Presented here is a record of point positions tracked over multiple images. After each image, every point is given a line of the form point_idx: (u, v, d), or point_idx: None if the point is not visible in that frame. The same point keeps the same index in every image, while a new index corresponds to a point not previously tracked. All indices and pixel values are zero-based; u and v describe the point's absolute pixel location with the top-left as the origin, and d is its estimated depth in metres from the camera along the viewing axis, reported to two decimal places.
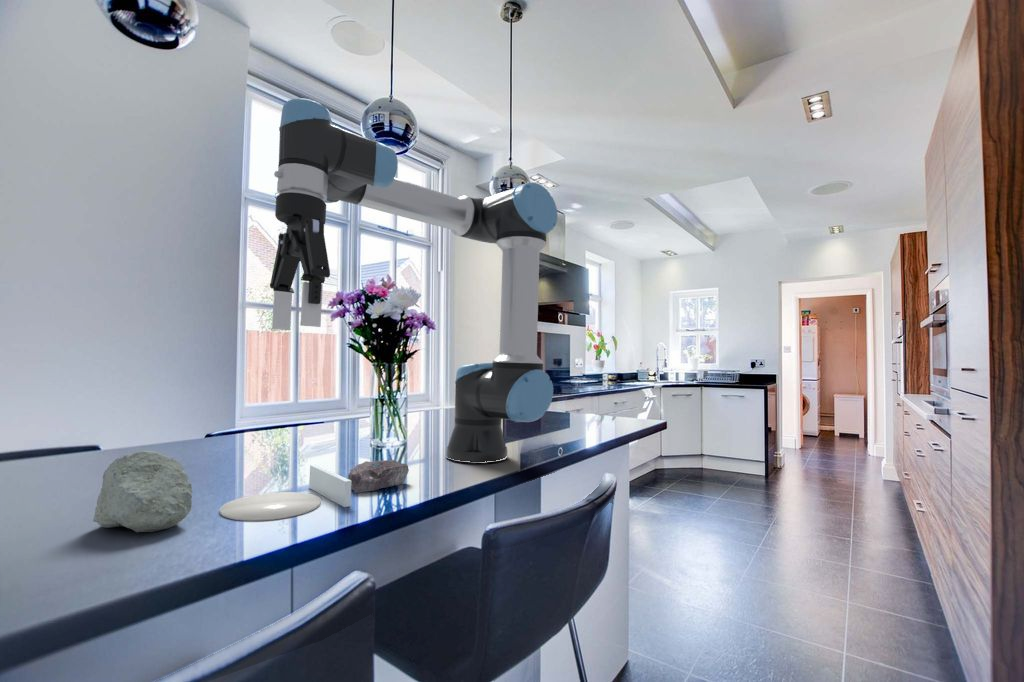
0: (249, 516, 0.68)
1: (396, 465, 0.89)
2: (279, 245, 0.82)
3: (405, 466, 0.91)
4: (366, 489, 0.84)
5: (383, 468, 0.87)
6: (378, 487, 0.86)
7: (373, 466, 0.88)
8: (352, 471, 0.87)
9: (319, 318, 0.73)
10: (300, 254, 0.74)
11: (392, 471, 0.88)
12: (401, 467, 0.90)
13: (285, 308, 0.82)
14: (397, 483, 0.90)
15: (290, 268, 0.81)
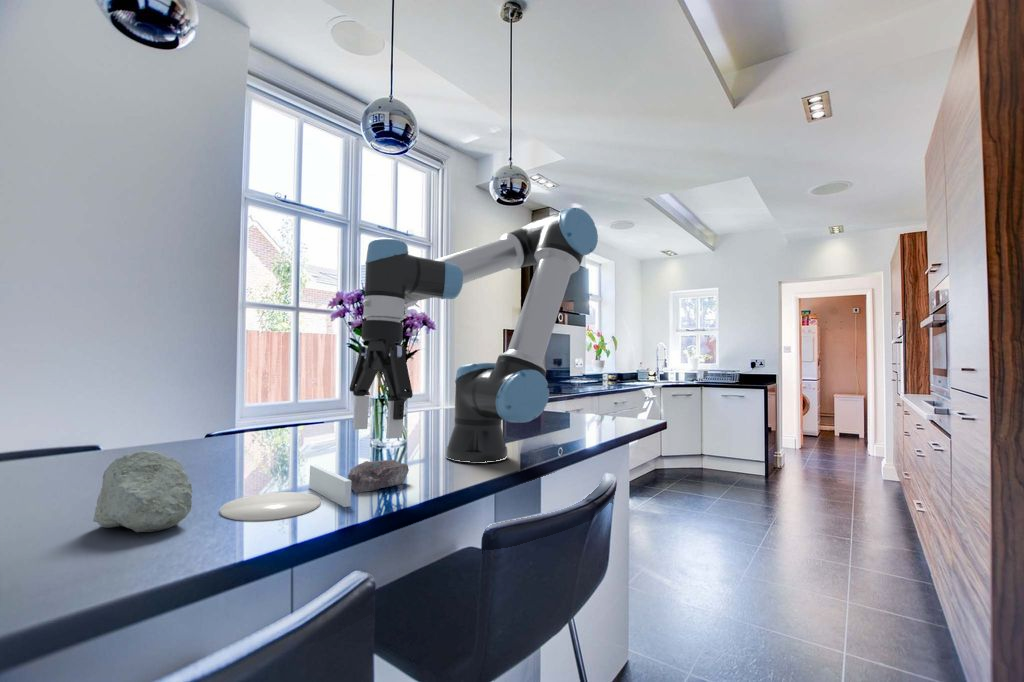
0: (249, 516, 0.68)
1: (396, 465, 0.89)
2: (360, 356, 0.95)
3: (405, 466, 0.91)
4: (366, 489, 0.84)
5: (383, 468, 0.87)
6: (378, 487, 0.86)
7: (373, 466, 0.88)
8: (352, 471, 0.88)
9: (401, 430, 0.86)
10: (385, 374, 0.87)
11: (391, 471, 0.88)
12: (401, 467, 0.90)
13: (363, 410, 0.95)
14: (397, 483, 0.90)
15: (370, 377, 0.94)
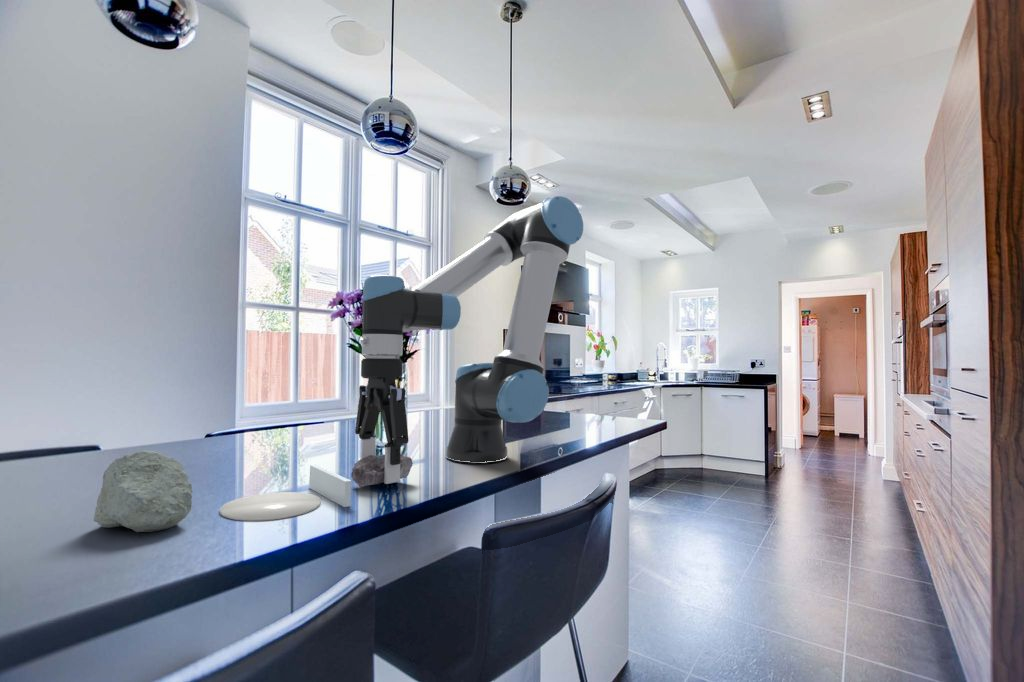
0: (249, 516, 0.68)
1: (400, 458, 0.90)
2: (361, 396, 0.94)
3: (409, 459, 0.92)
4: (370, 482, 0.85)
5: None
6: (382, 480, 0.86)
7: (377, 460, 0.89)
8: (356, 465, 0.88)
9: (398, 474, 0.87)
10: (383, 416, 0.87)
11: None
12: (405, 460, 0.90)
13: (370, 453, 0.94)
14: (401, 476, 0.90)
15: (373, 417, 0.93)
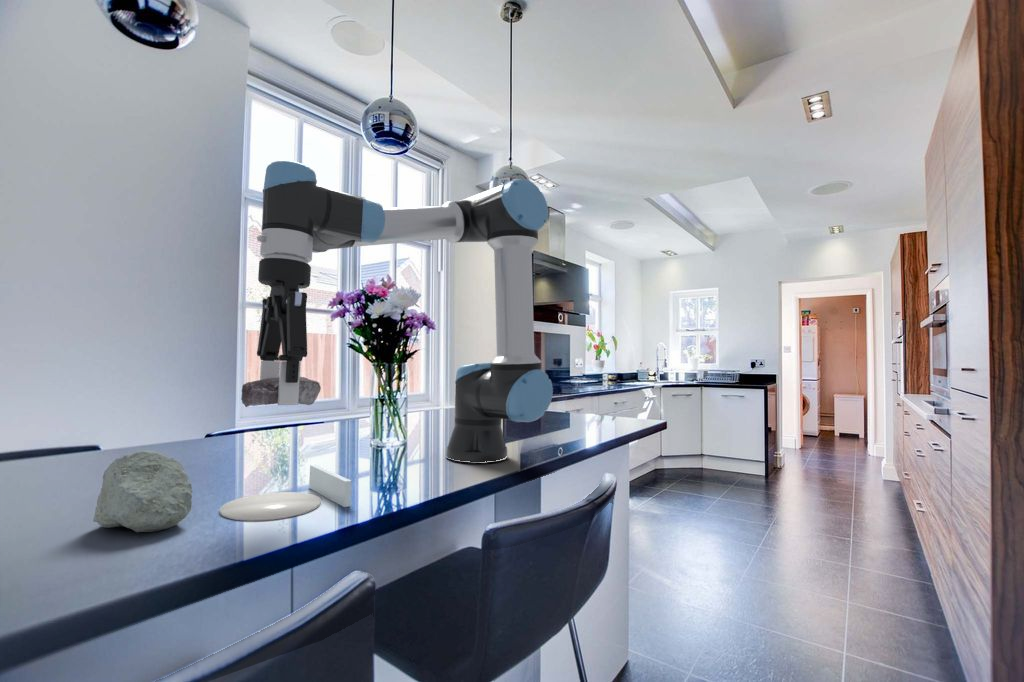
0: (249, 516, 0.68)
1: (302, 379, 0.75)
2: (263, 310, 0.80)
3: (315, 383, 0.77)
4: (258, 402, 0.70)
5: None
6: (275, 401, 0.71)
7: (273, 379, 0.74)
8: None
9: (297, 396, 0.73)
10: (280, 326, 0.73)
11: None
12: (308, 383, 0.76)
13: None
14: (303, 401, 0.76)
15: (276, 333, 0.79)
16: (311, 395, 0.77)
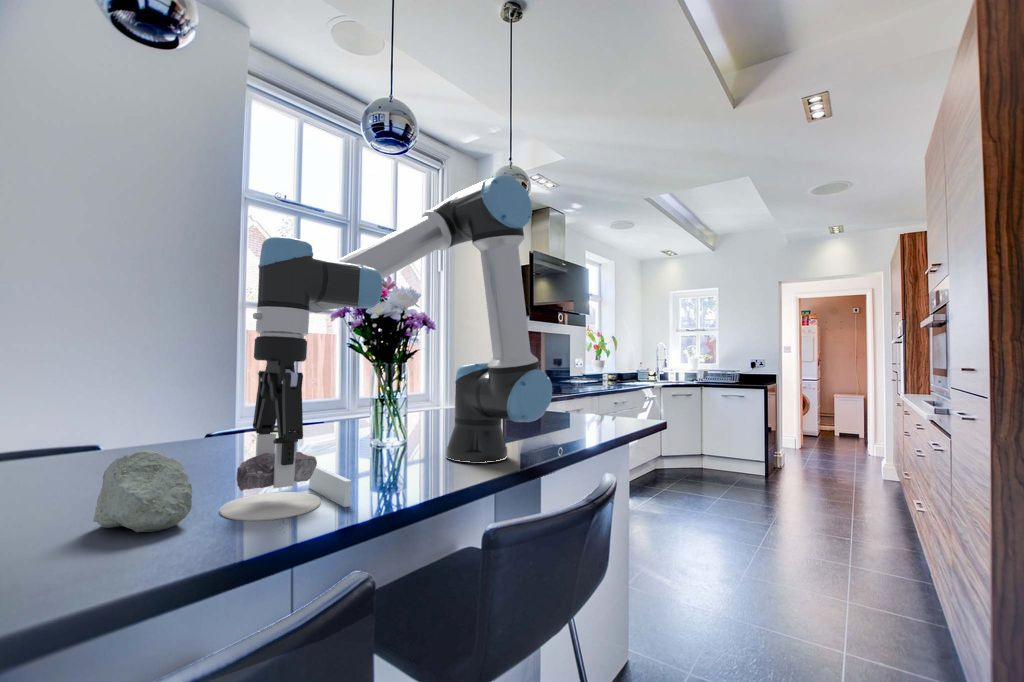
0: (249, 516, 0.68)
1: (297, 457, 0.74)
2: (259, 383, 0.79)
3: (311, 459, 0.76)
4: (253, 486, 0.70)
5: None
6: (270, 483, 0.71)
7: (268, 459, 0.73)
8: (242, 464, 0.73)
9: (292, 477, 0.72)
10: (276, 406, 0.72)
11: None
12: (304, 460, 0.75)
13: (268, 452, 0.79)
14: (299, 479, 0.75)
15: (272, 407, 0.78)
16: (307, 472, 0.76)
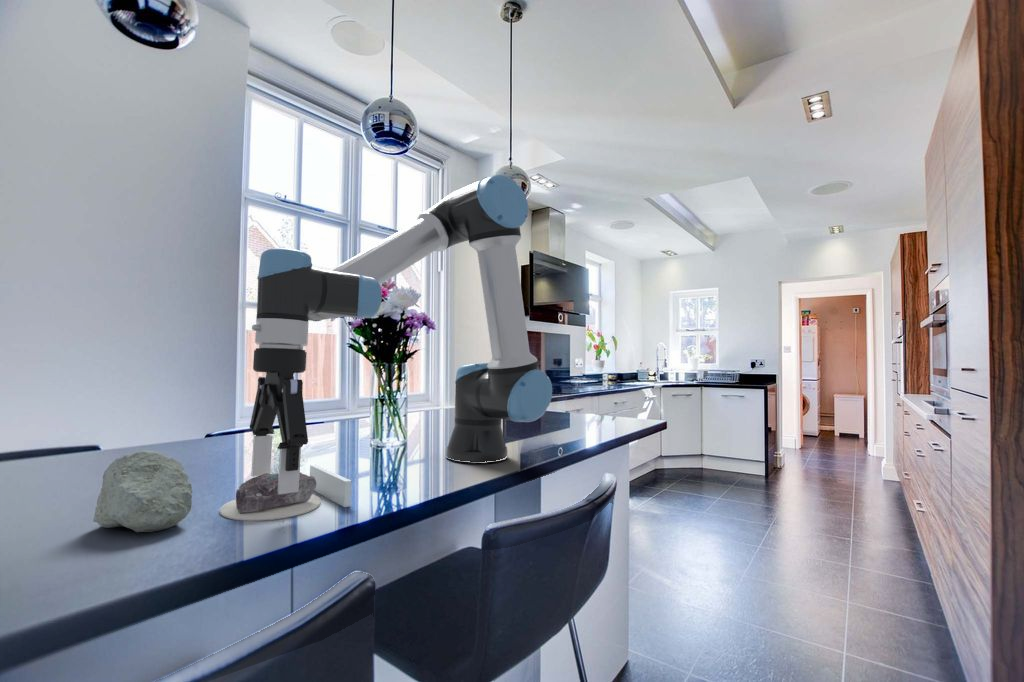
0: (249, 516, 0.68)
1: None
2: (258, 389, 0.80)
3: (310, 480, 0.76)
4: (252, 508, 0.69)
5: None
6: (269, 506, 0.71)
7: (268, 480, 0.73)
8: (242, 486, 0.73)
9: (297, 483, 0.71)
10: (278, 414, 0.72)
11: None
12: (304, 481, 0.75)
13: (265, 453, 0.80)
14: (299, 500, 0.75)
15: (270, 414, 0.79)
16: (306, 492, 0.76)
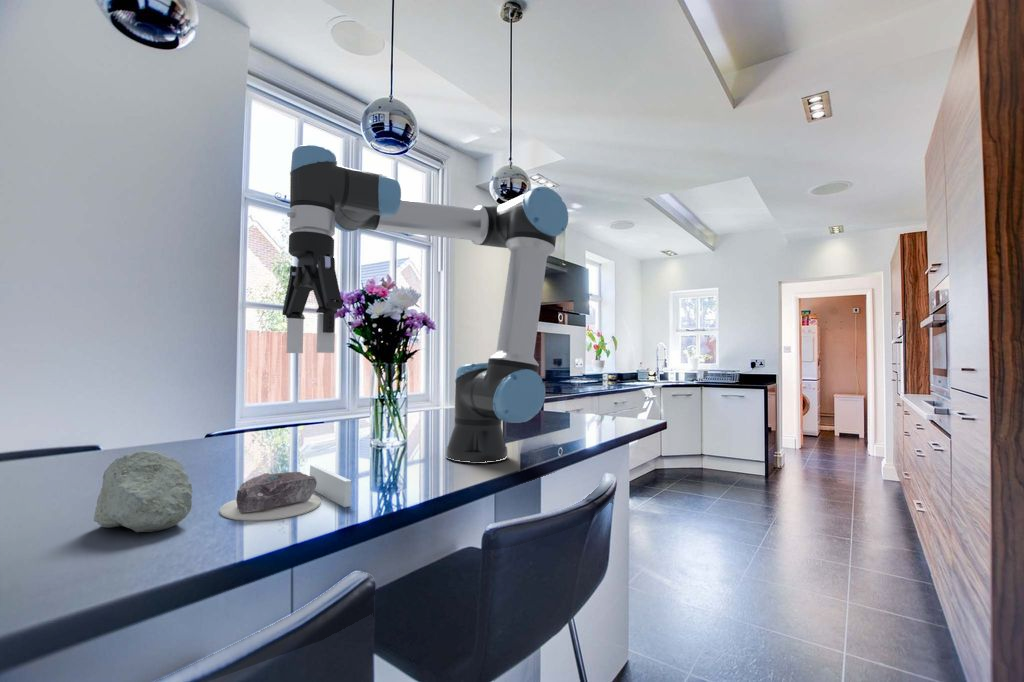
0: (249, 516, 0.68)
1: (297, 478, 0.75)
2: (291, 276, 0.90)
3: (311, 479, 0.76)
4: (254, 508, 0.70)
5: (279, 482, 0.72)
6: (270, 506, 0.71)
7: (268, 480, 0.73)
8: (242, 486, 0.73)
9: (333, 345, 0.81)
10: (313, 287, 0.82)
11: (290, 486, 0.73)
12: (304, 481, 0.75)
13: (298, 333, 0.91)
14: (299, 500, 0.75)
15: (302, 297, 0.89)
16: (307, 492, 0.76)
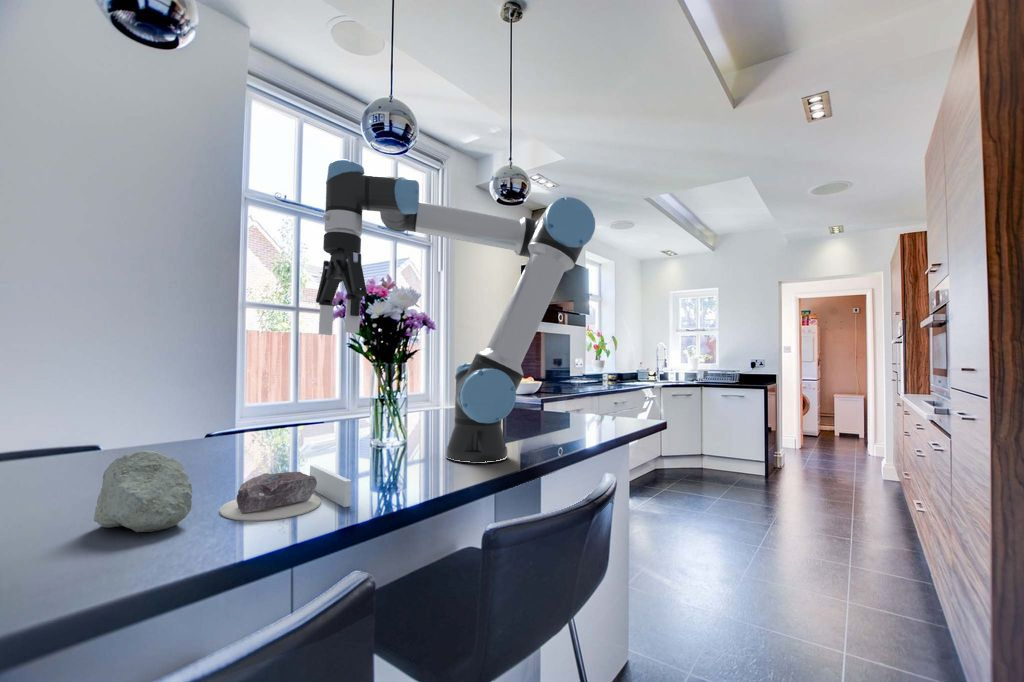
0: (249, 516, 0.68)
1: (298, 478, 0.75)
2: (324, 269, 1.06)
3: (311, 479, 0.77)
4: (255, 508, 0.70)
5: (280, 482, 0.73)
6: (271, 505, 0.71)
7: (269, 480, 0.73)
8: (242, 486, 0.73)
9: (358, 326, 0.97)
10: (343, 278, 0.98)
11: (291, 486, 0.73)
12: (305, 480, 0.75)
13: (328, 318, 1.07)
14: (300, 499, 0.75)
15: (333, 287, 1.06)
16: (307, 492, 0.76)
